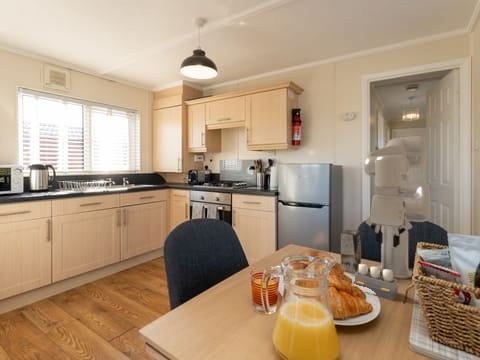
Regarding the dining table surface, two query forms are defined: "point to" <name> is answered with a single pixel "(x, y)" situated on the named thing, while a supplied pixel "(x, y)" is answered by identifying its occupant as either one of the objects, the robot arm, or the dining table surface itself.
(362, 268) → the end button
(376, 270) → the middle button
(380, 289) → the button board
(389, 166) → the robot arm
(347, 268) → the coffee box
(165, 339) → the dining table surface
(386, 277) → the end button
